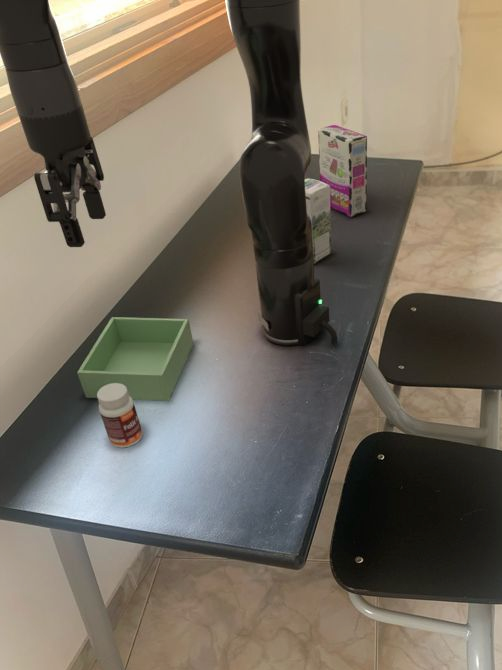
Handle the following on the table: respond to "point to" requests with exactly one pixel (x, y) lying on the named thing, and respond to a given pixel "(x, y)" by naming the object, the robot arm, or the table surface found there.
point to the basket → (138, 357)
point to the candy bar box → (344, 168)
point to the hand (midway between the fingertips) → (87, 231)
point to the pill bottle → (119, 415)
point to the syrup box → (319, 217)
